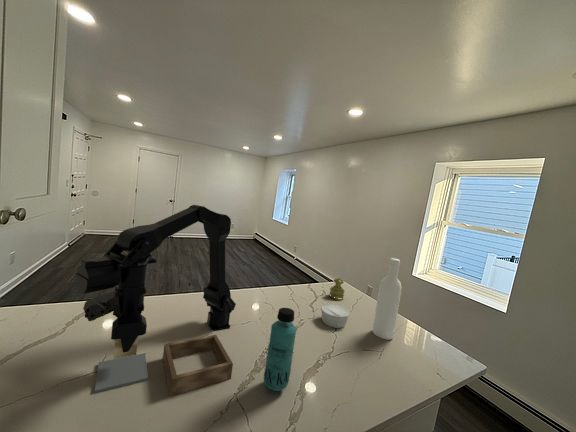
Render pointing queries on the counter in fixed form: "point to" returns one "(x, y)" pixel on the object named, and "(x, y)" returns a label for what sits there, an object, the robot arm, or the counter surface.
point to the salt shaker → (337, 290)
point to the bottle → (388, 302)
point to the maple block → (119, 352)
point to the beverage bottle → (280, 351)
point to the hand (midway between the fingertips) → (125, 345)
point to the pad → (121, 372)
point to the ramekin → (334, 315)
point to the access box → (196, 377)
